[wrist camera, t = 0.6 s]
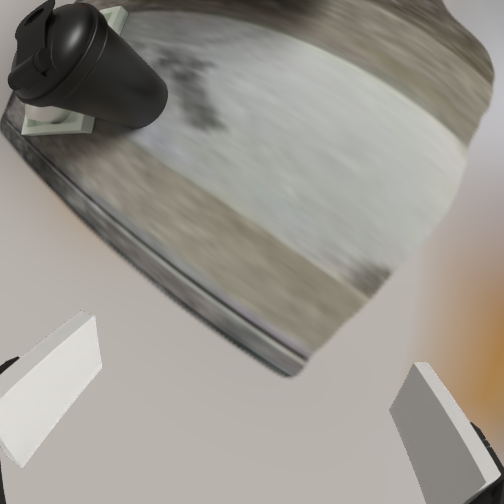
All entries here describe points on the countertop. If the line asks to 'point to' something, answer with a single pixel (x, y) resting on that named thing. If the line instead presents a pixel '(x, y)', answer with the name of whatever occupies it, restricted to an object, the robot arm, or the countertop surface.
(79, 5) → the water bottle
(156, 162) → the countertop surface
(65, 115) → the white domed cylinder
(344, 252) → the countertop surface
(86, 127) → the tray
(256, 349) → the countertop surface
